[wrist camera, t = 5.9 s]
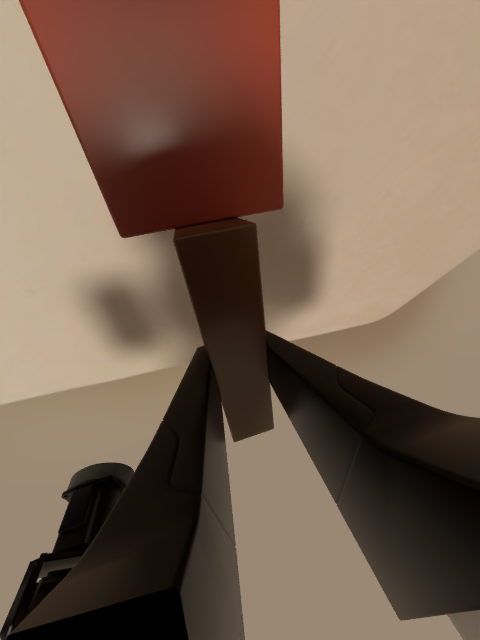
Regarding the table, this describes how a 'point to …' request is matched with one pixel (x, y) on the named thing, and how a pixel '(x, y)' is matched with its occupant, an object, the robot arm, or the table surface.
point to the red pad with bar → (184, 151)
